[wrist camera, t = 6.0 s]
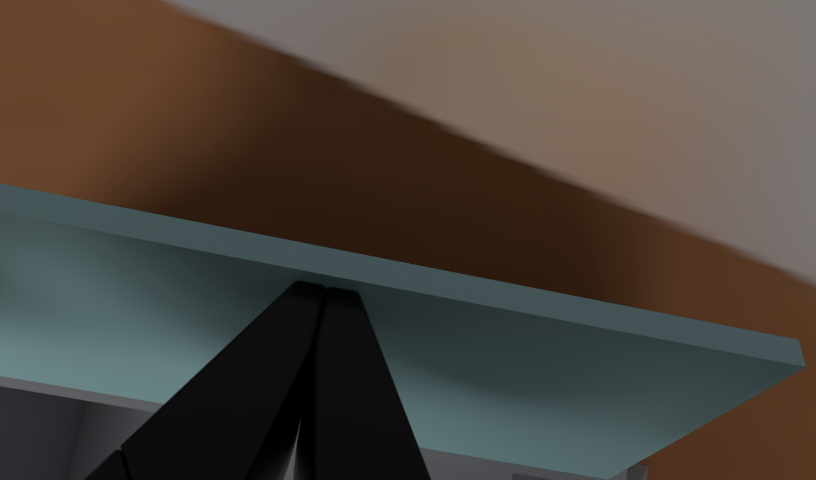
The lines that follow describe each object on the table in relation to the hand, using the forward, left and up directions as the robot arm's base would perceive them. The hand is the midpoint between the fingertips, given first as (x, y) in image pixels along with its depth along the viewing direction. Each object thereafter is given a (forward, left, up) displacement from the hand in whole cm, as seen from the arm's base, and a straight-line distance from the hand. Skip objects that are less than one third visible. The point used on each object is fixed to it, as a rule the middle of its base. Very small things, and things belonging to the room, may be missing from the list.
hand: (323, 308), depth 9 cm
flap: (0, -1, -2) cm, 2 cm away
